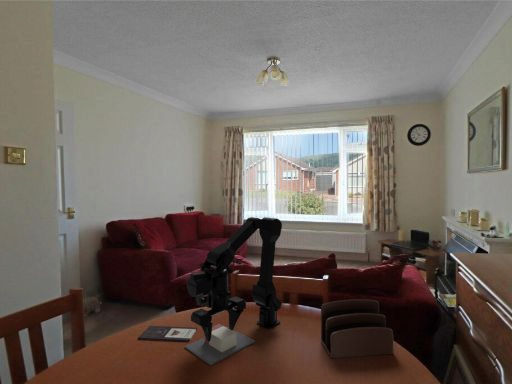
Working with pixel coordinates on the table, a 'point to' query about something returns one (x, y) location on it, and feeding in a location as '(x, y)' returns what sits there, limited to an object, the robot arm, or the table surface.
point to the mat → (214, 355)
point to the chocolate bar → (168, 333)
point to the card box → (222, 338)
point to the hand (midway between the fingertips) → (220, 335)
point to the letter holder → (355, 329)
